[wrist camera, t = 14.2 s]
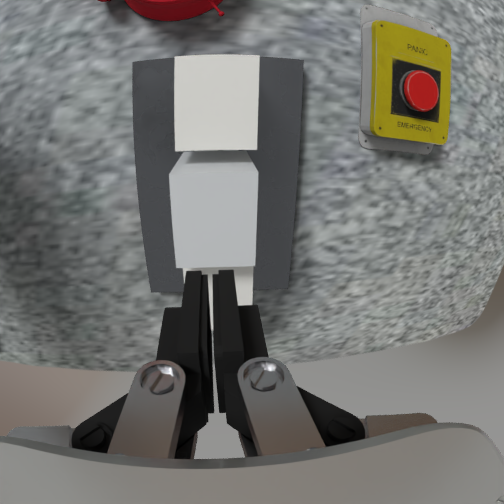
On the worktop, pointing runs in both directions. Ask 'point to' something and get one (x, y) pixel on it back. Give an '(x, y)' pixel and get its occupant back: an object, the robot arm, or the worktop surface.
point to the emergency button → (402, 83)
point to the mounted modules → (218, 124)
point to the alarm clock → (172, 8)
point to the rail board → (264, 158)
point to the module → (214, 209)
